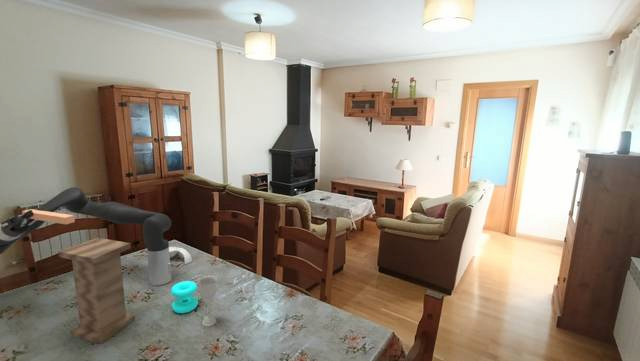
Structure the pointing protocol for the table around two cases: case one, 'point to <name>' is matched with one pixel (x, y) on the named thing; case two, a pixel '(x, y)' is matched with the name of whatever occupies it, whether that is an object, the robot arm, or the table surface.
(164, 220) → the robot arm
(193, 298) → the cyan spool
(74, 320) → the table surface
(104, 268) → the stand
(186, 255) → the white arch
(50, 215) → the bar
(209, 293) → the chalice
